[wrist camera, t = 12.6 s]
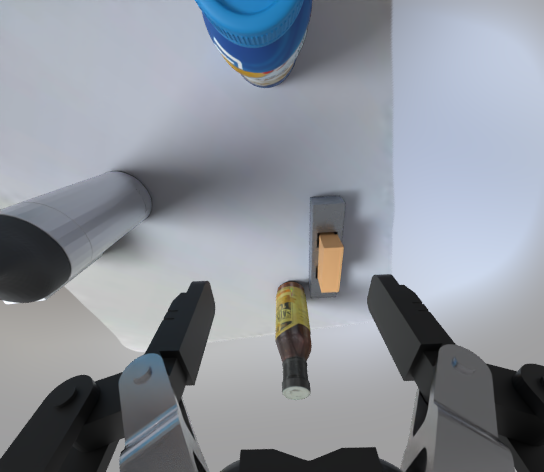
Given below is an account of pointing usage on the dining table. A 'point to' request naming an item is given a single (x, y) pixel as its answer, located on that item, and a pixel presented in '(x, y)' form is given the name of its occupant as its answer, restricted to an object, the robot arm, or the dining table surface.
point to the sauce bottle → (293, 339)
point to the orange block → (329, 262)
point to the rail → (322, 219)
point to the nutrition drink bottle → (258, 35)
